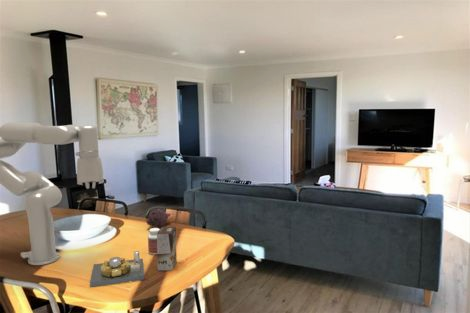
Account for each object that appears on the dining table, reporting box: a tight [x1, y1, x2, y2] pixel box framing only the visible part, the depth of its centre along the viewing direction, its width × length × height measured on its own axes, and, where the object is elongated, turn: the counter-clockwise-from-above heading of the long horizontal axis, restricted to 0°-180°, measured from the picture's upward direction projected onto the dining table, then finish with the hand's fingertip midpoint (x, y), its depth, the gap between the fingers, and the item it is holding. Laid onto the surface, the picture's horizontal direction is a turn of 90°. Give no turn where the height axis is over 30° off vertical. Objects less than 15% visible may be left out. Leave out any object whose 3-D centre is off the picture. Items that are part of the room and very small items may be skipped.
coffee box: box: [156, 226, 178, 271], centre depth 153 cm, size 9×6×16 cm
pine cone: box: [146, 208, 171, 227], centre depth 203 cm, size 18×10×10 cm, turn 150°
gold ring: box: [101, 250, 141, 277], centre depth 146 cm, size 15×11×6 cm
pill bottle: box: [147, 227, 161, 255], centre depth 168 cm, size 6×6×11 cm
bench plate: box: [89, 256, 146, 288], centre depth 146 cm, size 20×16×7 cm
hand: (91, 196), depth 155 cm, fingers closed
